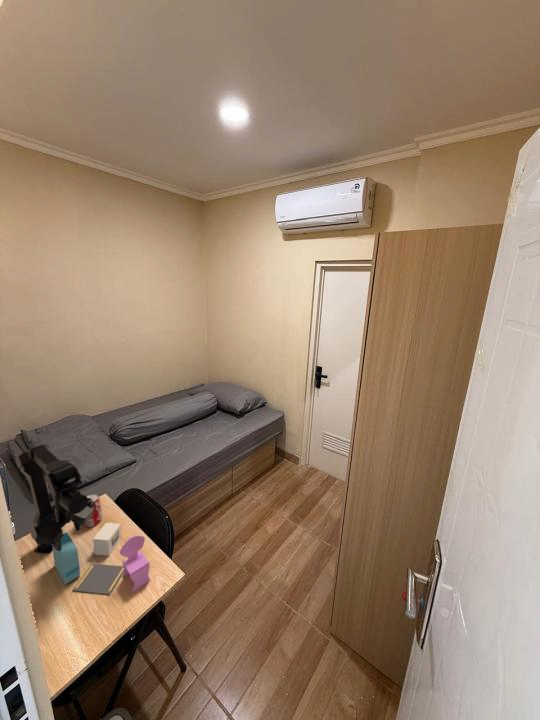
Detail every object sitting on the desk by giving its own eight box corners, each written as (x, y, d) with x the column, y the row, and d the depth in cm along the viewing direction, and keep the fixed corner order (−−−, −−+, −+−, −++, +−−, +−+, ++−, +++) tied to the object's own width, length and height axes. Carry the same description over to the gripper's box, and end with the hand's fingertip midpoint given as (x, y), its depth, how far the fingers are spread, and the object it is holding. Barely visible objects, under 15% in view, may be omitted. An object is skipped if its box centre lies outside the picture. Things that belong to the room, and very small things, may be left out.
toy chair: (129, 596, 94) (126, 558, 91) (119, 578, 100) (116, 541, 97) (153, 579, 100) (152, 543, 97) (143, 563, 106) (141, 528, 103)
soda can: (100, 514, 129) (98, 490, 126) (104, 523, 124) (102, 499, 121) (81, 521, 124) (79, 497, 122) (85, 531, 119) (82, 506, 117)
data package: (80, 577, 100) (77, 548, 97) (65, 586, 96) (62, 557, 94) (69, 557, 107) (66, 530, 105) (54, 565, 104) (51, 537, 101)
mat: (72, 591, 95) (72, 590, 95) (92, 564, 105) (92, 563, 105) (110, 594, 94) (110, 593, 94) (126, 567, 104) (126, 566, 104)
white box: (94, 554, 109) (92, 538, 107) (107, 537, 117) (105, 522, 115) (110, 555, 108) (109, 540, 107) (122, 538, 116) (121, 524, 115)
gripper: (66, 522, 86) (71, 566, 89) (104, 484, 105) (108, 521, 108) (31, 520, 87) (37, 563, 90) (76, 482, 105) (79, 519, 108)
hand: (69, 540), depth 99 cm, fingers open, 8 cm apart
